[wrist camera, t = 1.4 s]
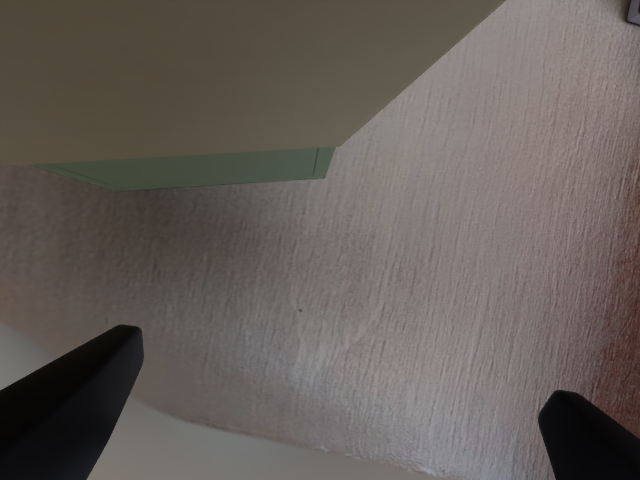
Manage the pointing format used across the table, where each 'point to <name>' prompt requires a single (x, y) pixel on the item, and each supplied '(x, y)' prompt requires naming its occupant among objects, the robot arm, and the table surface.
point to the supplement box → (634, 12)
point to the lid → (209, 72)
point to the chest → (198, 169)
